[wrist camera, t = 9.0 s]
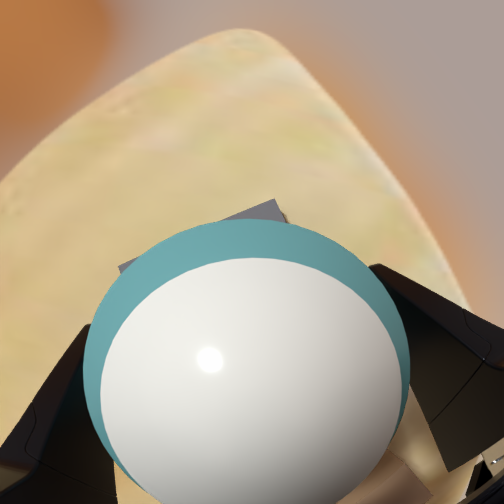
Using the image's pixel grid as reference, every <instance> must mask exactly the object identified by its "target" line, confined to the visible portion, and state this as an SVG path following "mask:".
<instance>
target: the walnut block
mask: <svg viewBox="0 0 504 504" xmlns="http://www.w3.org/2000/svg"><path fill="white" fill-rule="evenodd" d="M432 496H433V495H432V494H431V492H430V491H429V490H428V489H427V488H426V487H425V486H424V485H423V484H422V482H421V481H420V480H419V479H418V478H417V477H416V476H415V475H414V473H413V472H412V471H411V470H410V469H409V468H408V467H407V465H406V464H405V463H404V462H402V461H401V460H400V459H399V458H397V457H396V456H395V455H394V454H393V453H391V452H390V451H389V450H388V449H386V451H385V452H384V454H383V456H382V457H381V459H380V460H379V462H378V464H377V465H376V466H375V467H374V469H373V470H372V471H371V472H370V474H369V475H368V476H367V477H366V478H365V479H364V480H363V481H362V482H361V483H360V484H359V485H358V486H357V487H356V488H355V489H354V490H353V491H352V492H350V493H349V494H348V495H347V496H345V497H344V498H343V499H341V500H340V501H338V502H337V503H335V504H425V503H426V502H427V501H428V500H429V499H430V498H431V497H432Z"/></svg>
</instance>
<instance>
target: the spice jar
mask: <svg viewBox="0 0 504 504" xmlns="http://www.w3.org/2000/svg"><path fill="white" fill-rule="evenodd" d="M83 380H84V391H85V397H86V402H87V407H88V410H89V413H90V416H91V419H92V422H93V425H94V428H95V430H96V432H97V434H98V436H99V438H100V440H101V442H102V444H103V445H104V447H105V448H106V450H107V451H108V453H109V454H110V456H111V457H112V459H113V460H114V461H115V463H116V464H117V465H118V466H119V467H120V468H121V469H122V471H123V472H124V473H125V474H126V475H127V476H128V477H129V478H130V479H131V480H132V481H134V482H135V483H136V484H137V485H138V486H139V487H141V488H142V489H143V490H144V491H146V492H147V493H149V494H150V495H151V496H153V497H154V498H155V499H156V500H158V501H160V502H161V503H163V504H335V503H337V502H338V501H340V500H341V499H343V498H344V497H345V496H347V495H348V494H349V493H350V492H352V491H353V490H354V489H355V488H356V487H357V486H358V485H359V484H360V483H361V482H362V481H363V480H364V479H365V478H366V477H367V476H368V475H369V474H370V472H371V471H372V470H373V469H374V467H375V466H376V465H377V464H378V462H379V460H380V459H381V457H382V456H383V454H384V452H385V451H386V449H387V447H388V445H389V443H390V442H391V440H392V438H393V436H394V434H395V433H396V430H397V428H398V425H399V423H400V421H401V418H402V416H403V412H404V408H405V405H406V401H407V397H408V390H409V382H410V355H409V348H408V341H407V337H406V333H405V330H404V326H403V323H402V320H401V317H400V315H399V313H398V311H397V308H396V306H395V304H394V302H393V300H392V299H391V297H390V295H389V294H388V292H387V291H386V289H385V287H384V286H383V284H382V283H381V282H380V281H379V279H378V278H377V277H376V276H375V275H374V273H373V272H372V271H371V270H370V269H369V268H368V267H367V266H366V265H365V264H364V263H363V262H362V261H360V260H359V259H358V258H357V257H356V256H355V255H354V254H352V253H351V252H349V251H348V250H347V249H345V248H344V247H342V246H341V245H339V244H338V243H336V242H335V241H333V240H331V239H329V238H327V237H325V236H323V235H321V234H319V233H316V232H314V231H311V230H308V229H305V228H302V227H299V226H296V225H293V224H288V223H283V222H278V221H273V220H261V219H236V220H223V221H219V222H214V223H209V224H204V225H200V226H197V227H194V228H191V229H188V230H186V231H183V232H180V233H178V234H176V235H174V236H172V237H170V238H168V239H166V240H164V241H162V242H160V243H158V244H157V245H155V246H154V247H152V248H151V249H149V250H148V251H147V252H145V253H144V254H142V255H141V256H140V257H138V258H137V259H136V260H135V261H134V262H133V263H132V264H131V265H130V266H129V267H128V268H127V269H126V270H124V271H123V272H122V274H121V275H120V276H119V277H118V279H117V280H116V281H115V282H114V284H113V285H112V286H111V287H110V289H109V290H108V292H107V293H106V295H105V297H104V298H103V300H102V302H101V304H100V305H99V307H98V309H97V312H96V314H95V316H94V319H93V321H92V324H91V326H90V329H89V333H88V337H87V341H86V346H85V353H84V363H83Z"/></svg>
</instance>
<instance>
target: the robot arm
mask: <svg viewBox="0 0 504 504" xmlns="http://www.w3.org/2000/svg"><path fill="white" fill-rule="evenodd" d="M368 268H369V269H370V270H371V271H372V272H373V273H374V275H375V276H376V277H377V278H378V279H379V281H380V282H381V283H382V284H383V286H384V287H385V289H386V291H387V292H388V294H389V295H390V297H391V299H392V300H393V302H394V304H395V306H396V308H397V311H398V313H399V315H400V317H401V320H402V323H403V326H404V330H405V333H406V337H407V341H408V348H409V355H410V382H409V384H410V386H411V388H412V390H413V392H414V394H415V396H416V398H417V401H418V403H419V405H420V407H421V409H422V411H423V414H424V416H425V418H426V420H427V423H428V424H429V428H430V430H431V432H432V434H433V437H434V439H435V441H436V444H437V446H438V449H439V451H440V453H441V456H442V458H443V461H444V463H445V466H446V468H447V470H448V472H450V471H452V470H454V469H456V468H457V467H459V466H461V465H463V464H464V463H466V462H468V461H469V460H471V459H473V458H474V457H476V456H477V455H479V454H481V455H482V456H483V460H482V461H481V462H479V463H478V464H477V465H475V466H474V470H473V473H472V476H471V479H470V482H469V486H468V489H467V492H466V498H465V499H463V500H462V501H461V502H459V503H458V504H504V329H502V328H500V327H498V326H496V325H494V324H492V323H490V322H488V321H486V320H484V319H482V318H480V317H478V316H476V315H474V314H473V313H471V312H469V311H467V310H466V309H464V308H463V309H462V307H460V306H458V305H457V304H455V303H453V302H451V301H449V300H448V299H446V298H444V297H442V296H440V295H439V294H437V293H435V292H433V291H431V290H429V289H428V288H426V287H424V286H422V285H420V284H418V283H416V282H415V281H413V280H411V279H409V278H407V277H405V276H403V275H401V274H399V273H397V272H396V271H394V270H392V269H390V268H388V267H386V266H384V265H382V264H374V265H370V266H369V267H368ZM90 326H91V324H87V325H85V326H84V327H83V328H82V330H81V331H80V332H79V334H78V335H77V336H76V338H75V339H74V341H73V342H72V343H71V345H70V346H69V347H68V349H67V350H66V352H65V353H64V354H63V356H62V357H61V359H60V360H59V361H58V363H57V364H56V366H55V367H54V369H53V370H52V372H51V373H50V374H49V376H48V377H47V379H46V380H45V382H44V383H43V385H42V386H41V388H40V389H39V391H38V392H37V394H36V395H35V397H34V399H33V400H32V402H31V403H30V405H29V406H28V408H27V409H26V411H25V413H24V414H23V416H22V417H21V419H20V420H19V422H18V423H17V425H16V426H15V427H14V429H13V430H12V432H11V433H10V434H9V436H8V437H7V439H6V440H5V441H4V443H3V444H2V446H1V447H0V504H118V501H117V497H116V496H117V494H116V484H115V474H114V460H113V459H112V457H111V456H110V454H109V453H108V451H107V450H106V448H105V447H104V445H103V444H102V442H101V440H100V438H99V436H98V434H97V432H96V430H95V428H94V425H93V422H92V419H91V416H90V413H89V410H88V407H87V402H86V397H85V391H84V380H83V363H84V353H85V346H86V341H87V337H88V333H89V329H90Z"/></svg>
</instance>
